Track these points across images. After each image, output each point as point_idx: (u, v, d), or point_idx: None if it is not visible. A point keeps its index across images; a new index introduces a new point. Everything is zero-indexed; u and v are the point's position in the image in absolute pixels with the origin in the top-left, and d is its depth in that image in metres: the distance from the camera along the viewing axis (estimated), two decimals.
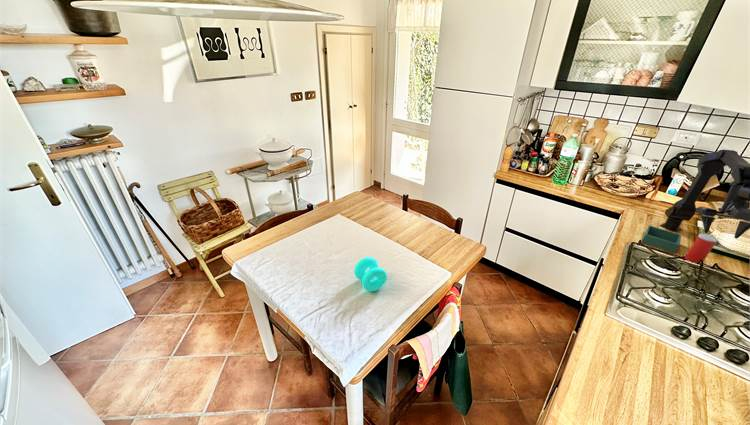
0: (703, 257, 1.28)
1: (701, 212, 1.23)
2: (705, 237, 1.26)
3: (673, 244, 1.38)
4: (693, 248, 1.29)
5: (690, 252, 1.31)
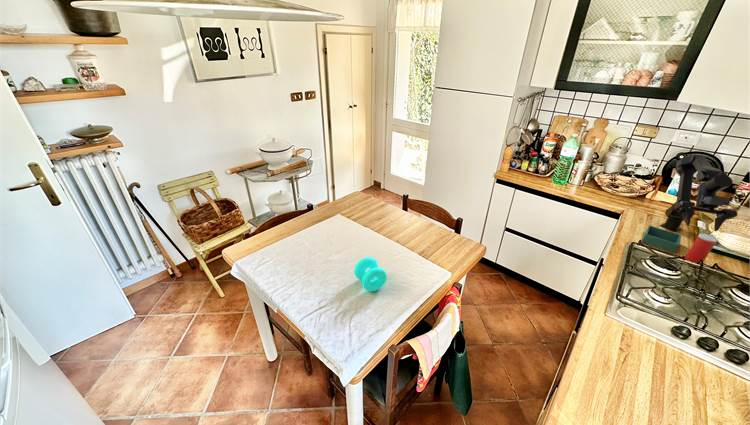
0: (703, 257, 1.28)
1: (679, 204, 1.36)
2: (705, 237, 1.26)
3: (673, 244, 1.38)
4: (693, 248, 1.29)
5: (690, 252, 1.31)
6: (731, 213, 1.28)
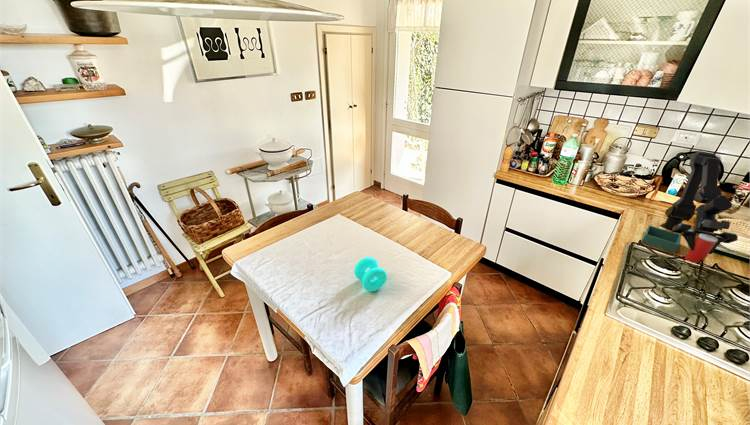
0: (703, 257, 1.28)
1: (677, 227, 1.32)
2: (705, 237, 1.26)
3: (673, 244, 1.38)
4: None
5: (690, 252, 1.31)
6: (731, 237, 1.24)
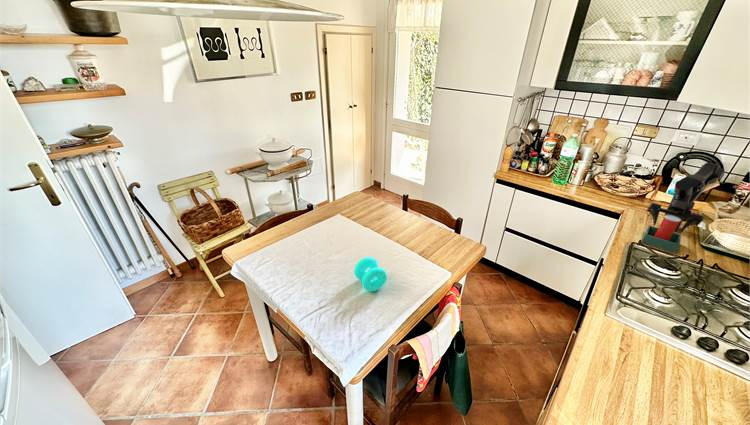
0: (667, 236, 1.41)
1: (649, 206, 1.46)
2: (669, 217, 1.39)
3: (673, 244, 1.38)
4: (659, 227, 1.43)
5: (657, 231, 1.44)
6: (696, 217, 1.35)
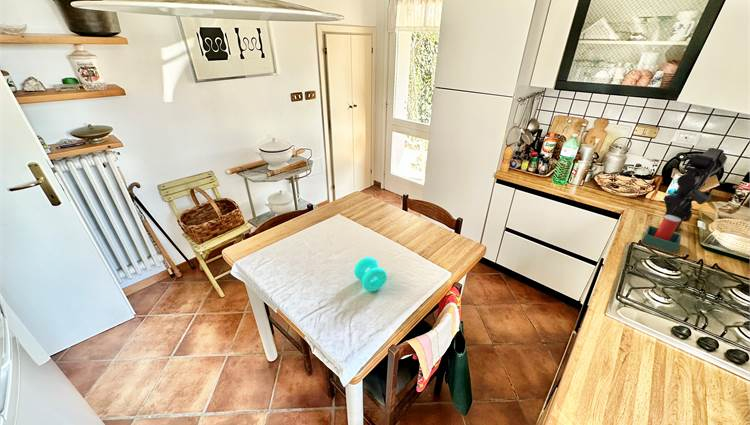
0: (667, 236, 1.41)
1: (676, 202, 1.36)
2: (669, 217, 1.39)
3: (673, 244, 1.38)
4: (659, 227, 1.43)
5: (657, 231, 1.44)
6: None
